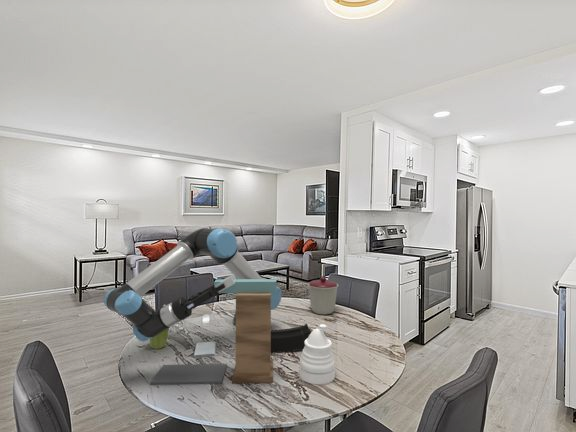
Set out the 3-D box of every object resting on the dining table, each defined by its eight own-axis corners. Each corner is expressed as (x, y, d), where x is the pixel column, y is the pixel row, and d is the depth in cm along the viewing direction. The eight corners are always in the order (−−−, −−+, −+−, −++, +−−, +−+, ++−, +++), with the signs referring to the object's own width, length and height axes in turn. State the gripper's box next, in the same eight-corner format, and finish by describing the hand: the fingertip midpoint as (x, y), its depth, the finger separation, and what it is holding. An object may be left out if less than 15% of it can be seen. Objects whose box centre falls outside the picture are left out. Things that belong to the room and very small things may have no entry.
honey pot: (336, 367, 115) (336, 320, 115) (333, 386, 102) (334, 333, 102) (302, 363, 118) (303, 317, 117) (296, 381, 105) (296, 330, 105)
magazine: (238, 333, 124) (307, 310, 128) (238, 330, 128) (305, 307, 131) (250, 372, 125) (318, 348, 129) (250, 368, 129) (316, 344, 132)
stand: (236, 365, 116) (236, 287, 115) (273, 365, 116) (273, 287, 116) (232, 383, 104) (232, 296, 103) (272, 382, 104) (273, 295, 104)
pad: (163, 366, 114) (163, 364, 114) (227, 365, 116) (227, 363, 116) (150, 384, 103) (150, 382, 102) (221, 383, 104) (221, 381, 104)
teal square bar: (216, 290, 111) (216, 279, 111) (276, 290, 112) (276, 279, 112) (214, 293, 107) (214, 281, 107) (276, 292, 108) (276, 281, 108)
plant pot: (172, 341, 138) (172, 322, 137) (167, 350, 128) (167, 329, 128) (150, 342, 136) (150, 323, 136) (144, 351, 127) (144, 331, 127)
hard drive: (214, 353, 123) (215, 340, 136) (193, 355, 122) (196, 342, 134) (214, 357, 123) (215, 344, 136) (193, 359, 122) (196, 345, 134)
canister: (321, 305, 192) (321, 272, 192) (344, 312, 179) (344, 276, 179) (301, 311, 180) (301, 276, 180) (324, 319, 167) (324, 281, 166)
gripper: (162, 309, 100) (224, 274, 101) (179, 295, 117) (232, 265, 118) (174, 329, 100) (236, 293, 101) (189, 312, 117) (241, 282, 118)
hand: (233, 278), depth 109 cm, fingers closed on teal square bar, 4 cm apart
